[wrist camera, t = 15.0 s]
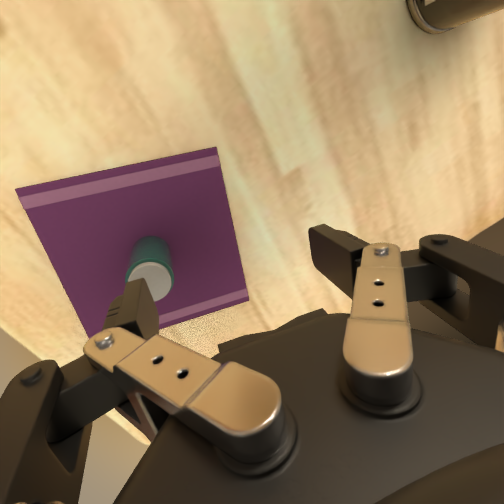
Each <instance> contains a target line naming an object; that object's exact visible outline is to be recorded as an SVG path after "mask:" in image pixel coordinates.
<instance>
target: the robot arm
mask: <svg viewBox="0 0 504 504" xmlns="http://www.w3.org/2000/svg"><path fill="white" fill-rule="evenodd" d="M407 2H408V7H409V10H410V13H411V15H412V17H413V19H414V21H415V22H416V24H417V25H418V26H419V27H420V28H421V29H423V30H424V31H426V32H429V33H434V34H436V33H442V32H445V31H448V30H450V29H453V28H455V27H456V26H458V25H461V24H464V23H466V22H469V21H472V20H475V19H478V18H480V17H483V16H486V15H488V14H491V13H494V12H496V11H499V10H502V9H504V0H407ZM308 234H309V241H310V249H311V256H312V261H313V264H314V266H315V267H316V269H317V270H319V271H320V272H321V273H322V274H323V275H324V276H325V277H327V278H328V279H329V280H330V281H331V282H332V283H334V284H335V285H336V286H337V287H338V288H339V289H340V290H342V291H343V292H344V293H345V294H346V295H347V296H349V297H350V298H351V299H352V307H351V313H350V314H346V313H335V314H327V313H326V311H325V310H324V309H323V308H321V309H318V310H316V311H313V312H310V313H307V314H304V315H301V316H298V317H296V318H295V319H293V320H291V321H290V322H288V323H286V324H284V325H283V326H281V327H279V328H277V329H275V330H273V331H267V332H261V333H255V334H250V335H244V336H241V337H238V338H236V339H233V340H230V341H227V342H224V343H221V344H218V348H219V352H220V353H218V354H217V355H215V356H214V357H212V358H211V359H210V358H208V357H206V356H204V355H202V354H200V353H197V352H195V351H193V350H191V349H189V348H187V347H184V346H182V345H180V344H178V343H176V342H174V341H171V340H169V339H167V338H165V337H163V336H161V335H159V315H158V311H157V308H156V305H155V302H154V300H153V297H152V295H151V292H150V290H149V287H148V285H147V282H146V280H145V279H144V278H140V279H136V280H133V281H129V282H127V283H126V285H125V289H124V293H123V295H120V296H117V297H116V298H115V299H114V300H113V301H112V302H111V304H110V306H109V309H108V312H107V315H106V318H105V322H104V325H103V328H102V331H101V332H99V333H97V334H96V335H94V336H93V337H91V338H90V339H89V340H88V341H87V342H86V344H85V345H84V347H83V352H84V355H83V356H81V357H80V358H78V359H76V360H74V361H72V362H70V363H68V364H66V365H64V366H63V367H61V368H59V366H58V364H57V363H56V361H54V360H44V361H41V362H37V363H35V364H33V365H31V366H29V367H27V368H26V369H24V370H23V371H21V372H20V373H19V374H17V375H16V376H15V377H14V378H13V379H12V380H11V381H10V383H9V384H8V386H7V388H6V389H5V391H4V393H3V395H2V396H1V398H0V504H78V500H79V495H80V489H81V484H82V478H83V473H84V468H85V462H86V457H87V451H88V446H89V440H90V435H91V429H92V421H94V420H96V419H97V418H99V417H100V416H102V415H104V414H105V413H107V412H108V411H110V410H112V409H113V408H115V409H116V410H117V411H118V412H119V413H120V414H121V415H122V416H123V417H125V418H126V419H127V420H128V421H129V422H131V423H132V424H133V425H134V426H135V427H136V428H138V429H139V430H140V431H141V432H142V433H143V434H144V435H145V436H146V437H147V438H148V439H149V440H150V442H151V444H150V446H149V447H148V449H147V451H146V452H145V454H144V455H143V457H142V458H141V460H140V462H139V463H138V465H137V466H136V468H135V469H134V471H133V473H132V474H131V476H130V477H129V479H128V481H127V482H126V484H125V485H124V487H123V488H122V490H121V491H120V493H119V495H118V496H117V498H116V499H115V501H114V503H113V504H504V256H503V255H501V254H498V253H495V252H493V251H490V250H488V249H485V248H482V247H480V246H477V245H475V244H472V243H469V242H467V241H464V240H462V239H459V238H457V237H454V236H450V235H443V234H435V235H428V236H425V237H422V238H421V239H420V240H419V249H416V250H409V251H402V252H400V248H399V247H398V246H397V245H394V244H391V243H374V244H369V243H367V242H365V241H363V240H361V239H358V238H357V237H356V236H353V235H352V234H350V233H348V232H346V231H340V230H335V229H333V228H331V227H329V226H328V225H326V224H321V225H318V226H315V227H311V228H309V231H308ZM458 276H459V277H461V278H462V279H464V280H465V281H466V282H467V283H468V285H469V288H470V296H469V295H467V294H466V293H464V292H462V291H460V290H459V289H457V279H458ZM412 301H419V302H420V303H421V304H422V305H423V306H425V307H426V308H427V309H429V310H430V311H432V312H433V313H434V314H436V315H437V316H439V317H440V318H441V319H443V320H444V321H445V322H447V323H448V324H449V325H451V326H452V327H454V328H455V329H456V330H458V331H459V332H461V333H462V334H463V335H465V336H466V337H467V338H469V339H470V340H472V341H473V342H474V343H476V344H473V343H469V342H465V341H461V340H456V339H453V338H449V337H444V336H441V335H436V334H432V333H428V332H424V331H420V330H416V329H412V328H410V322H409V319H408V310H407V302H412Z"/></svg>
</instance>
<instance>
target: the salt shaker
mask: <svg viewBox="0 0 504 504" xmlns="http://www.w3.org/2000/svg"><path fill="white" fill-rule="evenodd" d="M140 278H144V279H145V280H146V282H147V285H148V287H149V290H150V292H151V295H152V297H153V300H154V301H158V300H160V299H162V298H163V297H165V296H166V295H167V294H168V293H169V292H170V290H171V289H172V287H173V285H174V271H173V263H172V256H171V249H170V247H169V245H168V244H167V242H166V241H165V240H163V239H162V238H160V237H157V236H145V237H142V238H140V239H139V240H137V241H136V242H135V243H134V245H133V247H132V249H131V253H130V258H129V262H128V267H127V271H126V275H125V285H126V283H127V282H129V281H133V280H136V279H140Z"/></svg>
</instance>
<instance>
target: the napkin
mask: <svg viewBox="0 0 504 504" xmlns="http://www.w3.org/2000/svg"><path fill="white" fill-rule="evenodd" d="M15 191H16V193H17V195H18V197H19V200H20V202H21V204H22V206H23V208H24V209H25V211H26V213H27V215H28V217H29V219H30V221H31V223H32V225H33V227H34V229H35V231H36V233H37V235H38V237H39V239H40V241H41V243H42V245H43V247H44V249H45V251H46V253H47V255H48V257H49V259H50V261H51V263H52V265H53V267H54V269H55V271H56V273H57V275H58V277H59V279H60V281H61V283H62V285H63V287H64V289H65V291H66V293H67V295H68V297H69V299H70V301H71V303H72V305H73V307H74V309H75V311H76V313H77V315H78V317H79V319H80V321H81V323H82V325H83V327H84V329H85V331H86V333H87V335H88V338H89V339H90V338H91V337H93V336H94V335H96V334H97V333H99V332H101V331H102V328H103V325H104V322H105V318H106V315H107V312H108V309H109V306H110V304H111V302H112V301H113V300H114V299H115V298H116V297H117V296H120V295H123V293H124V289H125V275H126V271H127V267H128V262H129V258H130V253H131V249H132V247H133V245H134V243H135V242H136V241H137V240H139V239H140V238H142V237H145V236H157V237H160V238H162V239H163V240H165V241H166V242H167V244H168V245H169V247H170V249H171V256H172V263H173V271H174V285H173V287H172V289H171V290H170V292H169V293H168V294H167V295H166V296H165V297H163V298H162V299H160V300H158V301H154V302H155V305H156V308H157V311H158V315H159V329H162V328H165V327H168V326H171V325H175V324H178V323H181V322H184V321H187V320H190V319H193V318H196V317H199V316H203V315H206V314H209V313H212V312H215V311H218V310H221V309H224V308H228V307H231V306H234V305H237V304H240V303H243V302H246V301H249V297H248V291H247V288H246V283H245V278H244V274H243V269H242V264H241V260H240V255H239V250H238V246H237V241H236V236H235V232H234V227H233V222H232V218H231V213H230V208H229V204H228V199H227V195H226V190H225V185H224V181H223V176H222V171H221V167H220V161H219V156H218V153H217V148H216V147H213V148H208V149H203V150H199V151H194V152H189V153H184V154H180V155H175V156H170V157H165V158H160V159H156V160H151V161H146V162H141V163H137V164H132V165H127V166H122V167H118V168H113V169H108V170H103V171H98V172H94V173H89V174H84V175H79V176H75V177H70V178H65V179H60V180H56V181H51V182H46V183H41V184H36V185H32V186H27V187H22V188H17V189H15Z"/></svg>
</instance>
